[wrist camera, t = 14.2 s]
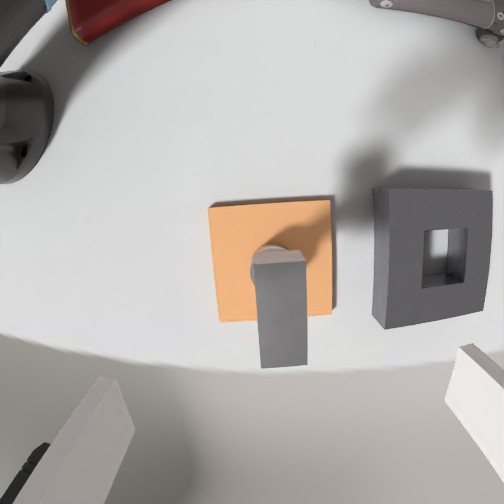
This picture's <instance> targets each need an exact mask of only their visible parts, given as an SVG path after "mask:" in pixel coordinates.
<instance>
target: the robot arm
mask: <svg viewBox="0 0 504 504" xmlns="http://www.w3.org/2000/svg"><path fill="white" fill-rule="evenodd" d="M56 1H57V0H0V67H1V66H2V64H3V63H4V62H5V60H6V59H7V58H8V56H9V55H10V54H11V52H12V51H13V50H14V49H15V47H16V46H17V45H18V44H19V42H20V41H21V40H22V39H23V37H24V36H25V35H26V34H27V33H28V32H29V30H30V29H31V28H32V27H33V26H34V25H35V24H36V23H37V22H38V21H39V20H40V18H41V17H42V16H43V15H44V14H45V13H48V12H49V11H50V10H51V8H52V6H53V5H54V4H55V3H56ZM52 121H53V97H52V93H51V90H50V87H49V85H48V83H47V82H46V81H45V80H44V79H43V78H42V77H41V76H39V75H37V74H34V73H32V72H29V71H25V70H17V71H7V72H0V184H9V183H14V182H16V181H18V180H20V179H22V178H23V177H24V176H26V175H27V174H28V173H29V172H30V171H31V170H32V168H33V167H34V166H35V164H36V163H37V161H38V160H39V158H40V156H41V154H42V152H43V150H44V148H45V146H46V143H47V141H48V138H49V134H50V131H51V126H52ZM444 401H445V402H446V403H447V405H448V406H449V407H450V409H451V410H452V411H453V412H454V414H455V415H456V416H457V418H458V419H459V420H460V422H461V423H462V424H463V426H464V427H465V428H466V430H467V431H468V432H469V434H470V435H471V437H472V438H473V439H474V441H475V442H476V443H477V445H478V446H479V448H480V449H481V450H482V452H483V453H484V455H485V456H486V457H487V459H488V460H489V462H490V463H491V465H492V466H493V467H494V469H495V470H496V472H497V473H498V474H499V476H500V477H501V479H502V481H503V482H504V370H503V369H502V368H501V367H500V366H499V365H497V364H496V363H495V362H494V361H493V360H491V358H489V357H488V356H487V355H486V354H485V353H484V352H482V351H481V350H480V349H479V348H478V347H476V346H475V345H474V344H473V343H472V344H468V345H465V346H461V347H459V350H458V354H457V358H456V362H455V366H454V369H453V373H452V377H451V380H450V384H449V387H448V390H447V394H446V397H445V400H444ZM134 432H135V428H134V425H133V423H132V420H131V418H130V415H129V413H128V410H127V407H126V405H125V402H124V399H123V396H122V394H121V391H120V388H119V385H118V382H117V379H116V378H111V377H100V376H99V377H98V378H97V380H96V381H95V383H94V384H93V385H92V387H91V388H90V389H89V391H88V392H87V394H86V395H85V396H84V398H83V399H82V401H81V402H80V403H79V405H78V406H77V408H76V409H75V411H74V412H73V413H72V415H71V416H70V417H69V419H68V420H67V422H66V423H65V425H64V426H63V427H62V429H61V430H60V432H59V433H58V435H57V436H56V438H55V439H54V441H53V442H52V443H51V444H48V443H43V444H42V445H40V446H39V447H37V448H36V449H35V450H34V451H33V452H32V453H31V455H30V456H29V458H28V459H27V463H26V462H25V464H24V465H23V466H22V468H21V469H22V470H21V471H19V472H18V474H17V475H16V477H15V478H14V480H13V481H12V483H11V484H10V486H9V487H8V489H7V490H6V492H5V493H4V495H3V496H2V498H1V499H0V504H104V502H105V500H106V497H107V495H108V493H109V490H110V488H111V485H112V483H113V481H114V478H115V476H116V473H117V471H118V469H119V466H120V464H121V462H122V459H123V457H124V455H125V452H126V450H127V448H128V446H129V443H130V441H131V439H132V436H133V434H134Z"/></svg>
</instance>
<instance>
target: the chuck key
mask: <svg viewBox="0 0 504 504" xmlns="http://www.w3.org/2000/svg"><path fill="white" fill-rule="evenodd" d="M250 277H251V280H252V283H253V284H254V286H255V293H256V306H257V319H258V332H259V345H260V358H261V368H275V367H288V366H300V365H307V279H306V260H305V258H304V257H303V255H302V253H301V252H300V250H289V249H288V248H287V247H286V246H284V245H282V244H279V243H267V244H264V245H262V246H260V247H259V248H258V249H257V250H256V251H255V252H254V254H253V256H252V259H251V267H250Z"/></svg>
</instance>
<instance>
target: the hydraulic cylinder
mask: <svg viewBox="0 0 504 504" xmlns="http://www.w3.org/2000/svg"><path fill="white" fill-rule="evenodd" d="M369 2H370V4H371V5H372V6H373V7H380V8H389V9H397V10H405V11H411V12H417V13H423V14H428V15H433V16H438V17H443V18H447V19H452V20H456V21H460V22H464V23H467V24H471V25H474V26H478V27H479V28H478V29H477V30H476V35H477V39H478V40H479V41H480V42H482V43H484V44H485V45H486V46H488V47H495V46H496V45H500V44H496V43H498V42H499V41H501V40H502V39H504V0H369ZM496 47H497V48H499V47H498V46H496Z"/></svg>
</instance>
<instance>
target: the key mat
mask: <svg viewBox="0 0 504 504" xmlns="http://www.w3.org/2000/svg"><path fill="white" fill-rule="evenodd" d="M208 216H209V227H210V238H211V248H212V258H213V268H214V277H215V286H216V295H217V304H218V312H219V321H220V322H234V321H252V320H258V319H257V306H256V293H255V286H254V284H253V283H252V280H251V277H250V267H251V259H252V256H253V254H254V252H255V251H256V250H257V249H258V248H259V247H260V246H262V245H264V244H267V243H279V244H282V245H284V246H286V247H287V248H288V249H289V250H300V252H301V253H302V255H303V257H304V258H305V260H306V279H307V316H317V315H328V314H332V236H331V209H330V200H314V201H295V202H278V203H262V204H248V205H235V206H222V207H210V208H208Z"/></svg>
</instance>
